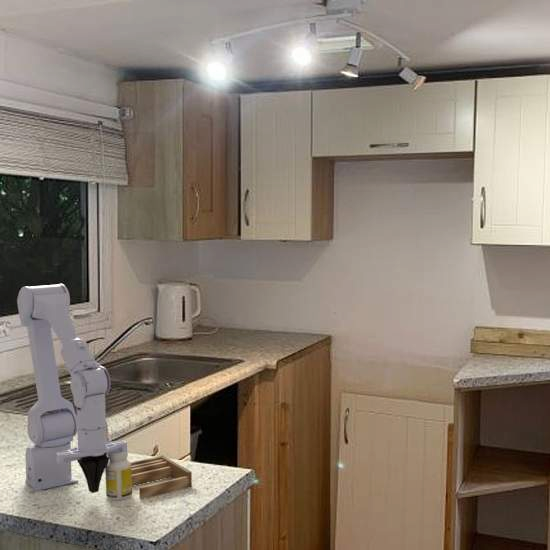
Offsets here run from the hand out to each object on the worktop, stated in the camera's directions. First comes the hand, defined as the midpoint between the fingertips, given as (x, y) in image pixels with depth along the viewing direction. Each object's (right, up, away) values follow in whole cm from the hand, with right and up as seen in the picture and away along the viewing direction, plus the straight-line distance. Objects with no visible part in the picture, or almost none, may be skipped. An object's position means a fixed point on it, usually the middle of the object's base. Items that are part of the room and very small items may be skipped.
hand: (93, 490), depth 155 cm
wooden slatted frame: (+10, -1, +11) cm, 15 cm away
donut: (-7, 0, +32) cm, 32 cm away
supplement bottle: (+5, -2, +3) cm, 6 cm away
